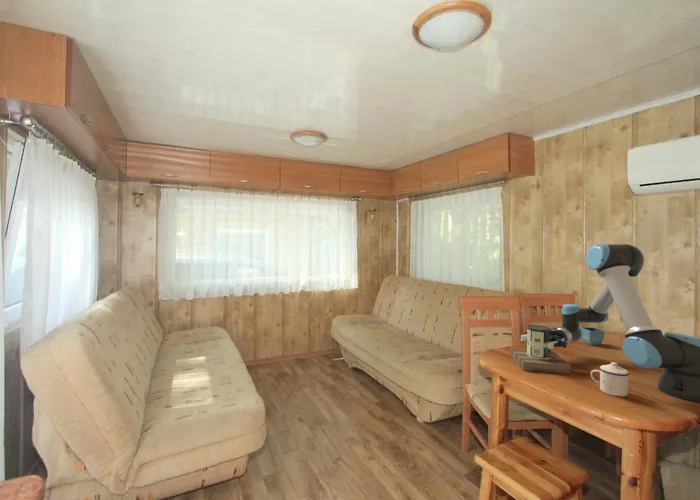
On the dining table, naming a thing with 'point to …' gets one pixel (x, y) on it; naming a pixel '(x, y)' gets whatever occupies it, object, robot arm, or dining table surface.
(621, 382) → the teacup with lid
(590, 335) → the flower pot
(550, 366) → the walnut block
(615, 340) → the dining table surface
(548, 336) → the coffee can
